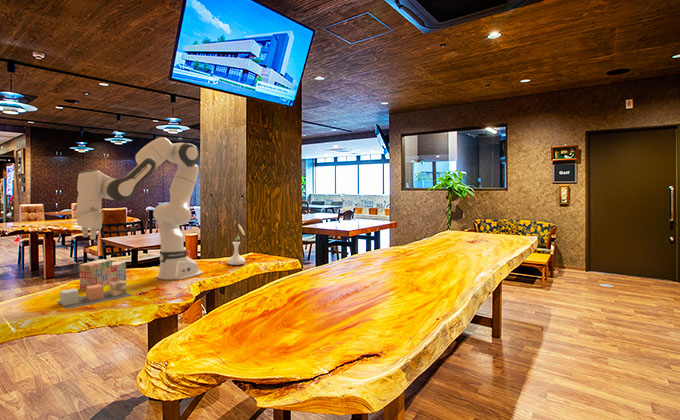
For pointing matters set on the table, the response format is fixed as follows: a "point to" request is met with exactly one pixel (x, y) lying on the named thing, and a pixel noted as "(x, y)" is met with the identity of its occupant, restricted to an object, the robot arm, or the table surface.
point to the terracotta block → (94, 292)
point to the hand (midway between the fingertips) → (89, 238)
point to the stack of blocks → (101, 272)
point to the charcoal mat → (85, 301)
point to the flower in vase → (236, 251)
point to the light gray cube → (69, 296)
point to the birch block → (117, 287)
